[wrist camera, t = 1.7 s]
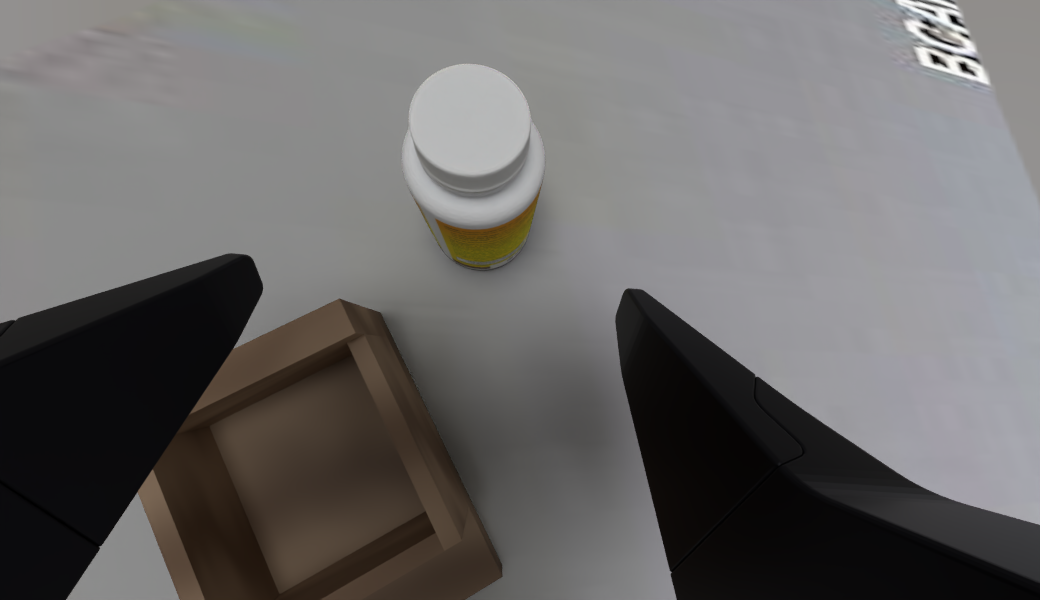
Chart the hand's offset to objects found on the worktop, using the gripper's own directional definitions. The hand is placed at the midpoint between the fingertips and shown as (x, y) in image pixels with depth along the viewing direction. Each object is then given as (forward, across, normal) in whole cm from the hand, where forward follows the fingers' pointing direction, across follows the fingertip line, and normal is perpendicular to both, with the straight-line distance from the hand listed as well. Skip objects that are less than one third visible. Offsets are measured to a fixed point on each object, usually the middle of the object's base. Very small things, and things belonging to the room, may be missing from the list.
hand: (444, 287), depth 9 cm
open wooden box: (+2, +6, +15) cm, 16 cm away
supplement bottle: (+13, 0, +5) cm, 14 cm away
